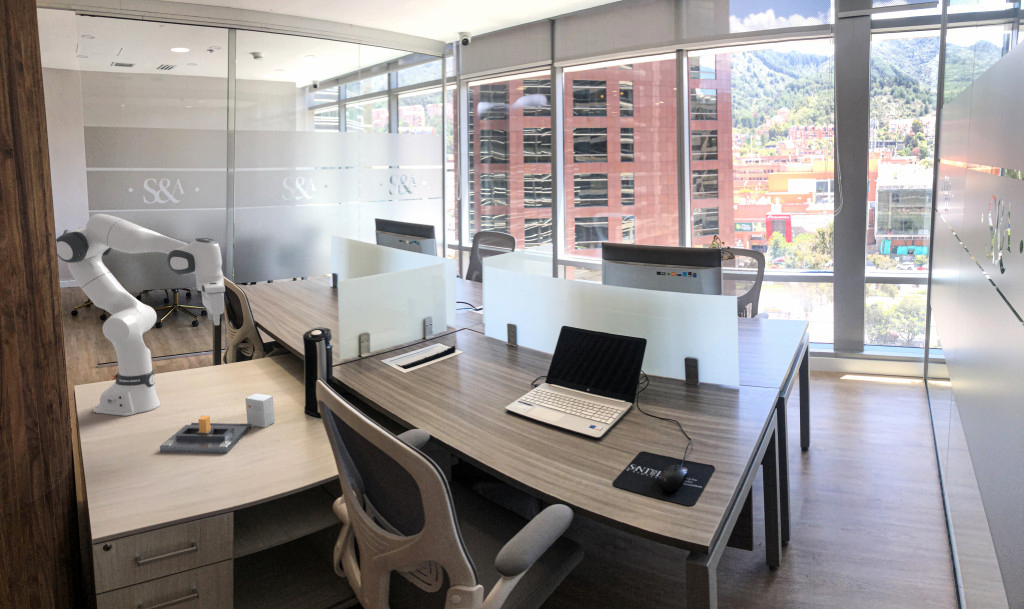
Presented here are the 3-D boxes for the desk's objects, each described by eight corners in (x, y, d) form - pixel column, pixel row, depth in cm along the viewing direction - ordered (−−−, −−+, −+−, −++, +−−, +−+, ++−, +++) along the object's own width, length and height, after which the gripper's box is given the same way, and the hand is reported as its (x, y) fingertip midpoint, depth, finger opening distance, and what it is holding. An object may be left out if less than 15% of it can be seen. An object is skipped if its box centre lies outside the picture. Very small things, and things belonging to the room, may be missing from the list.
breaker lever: (196, 437, 221) (195, 419, 220) (202, 432, 225) (201, 415, 224) (208, 437, 221) (207, 420, 220) (214, 432, 225) (212, 415, 224)
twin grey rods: (188, 429, 233) (188, 425, 233) (193, 425, 236) (192, 422, 236) (249, 430, 234) (249, 426, 233) (253, 426, 237) (252, 423, 236)
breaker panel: (160, 452, 215) (159, 441, 214) (186, 430, 232) (185, 420, 232) (227, 453, 215) (226, 443, 214) (248, 431, 233) (247, 421, 232)
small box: (275, 422, 241) (273, 395, 239) (264, 428, 236) (263, 400, 234) (257, 419, 244) (255, 392, 241) (246, 425, 238) (245, 397, 236)
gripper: (195, 280, 237) (199, 317, 240) (205, 289, 221) (210, 329, 224) (214, 279, 241) (217, 315, 244) (225, 287, 224) (229, 326, 227)
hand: (214, 322), depth 234 cm, fingers open, 8 cm apart
